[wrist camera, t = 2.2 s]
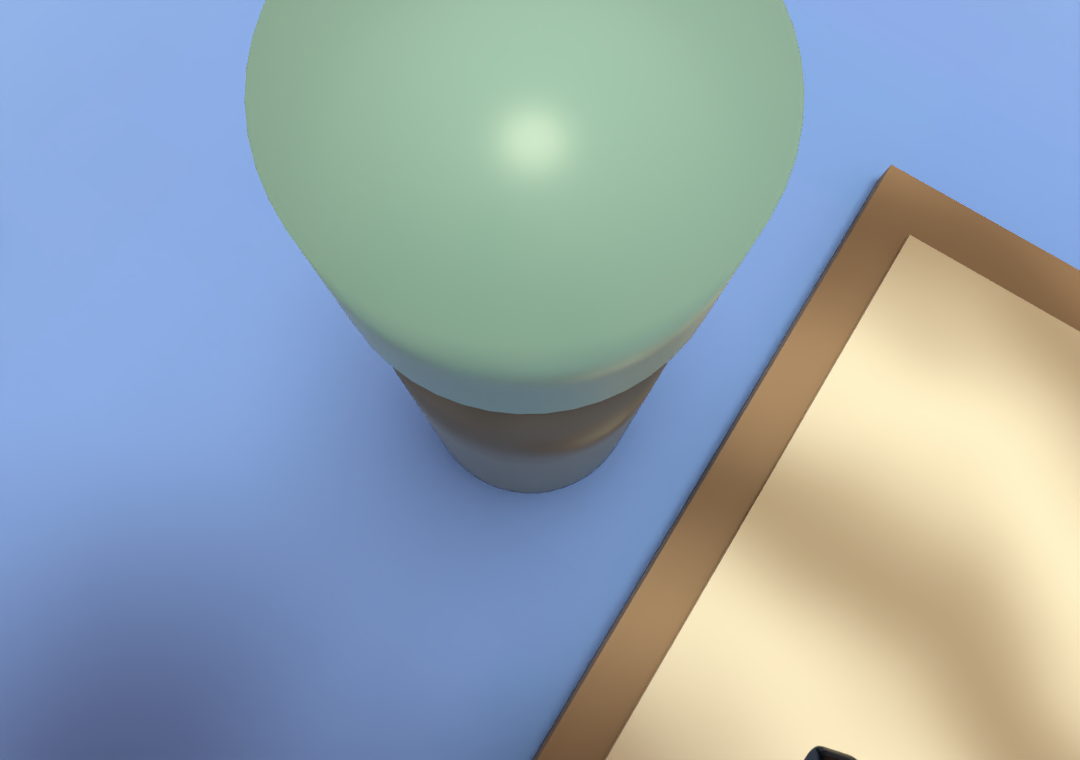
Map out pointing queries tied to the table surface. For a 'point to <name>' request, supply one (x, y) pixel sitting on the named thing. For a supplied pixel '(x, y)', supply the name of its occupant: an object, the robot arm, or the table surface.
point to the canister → (525, 195)
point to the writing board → (874, 524)
